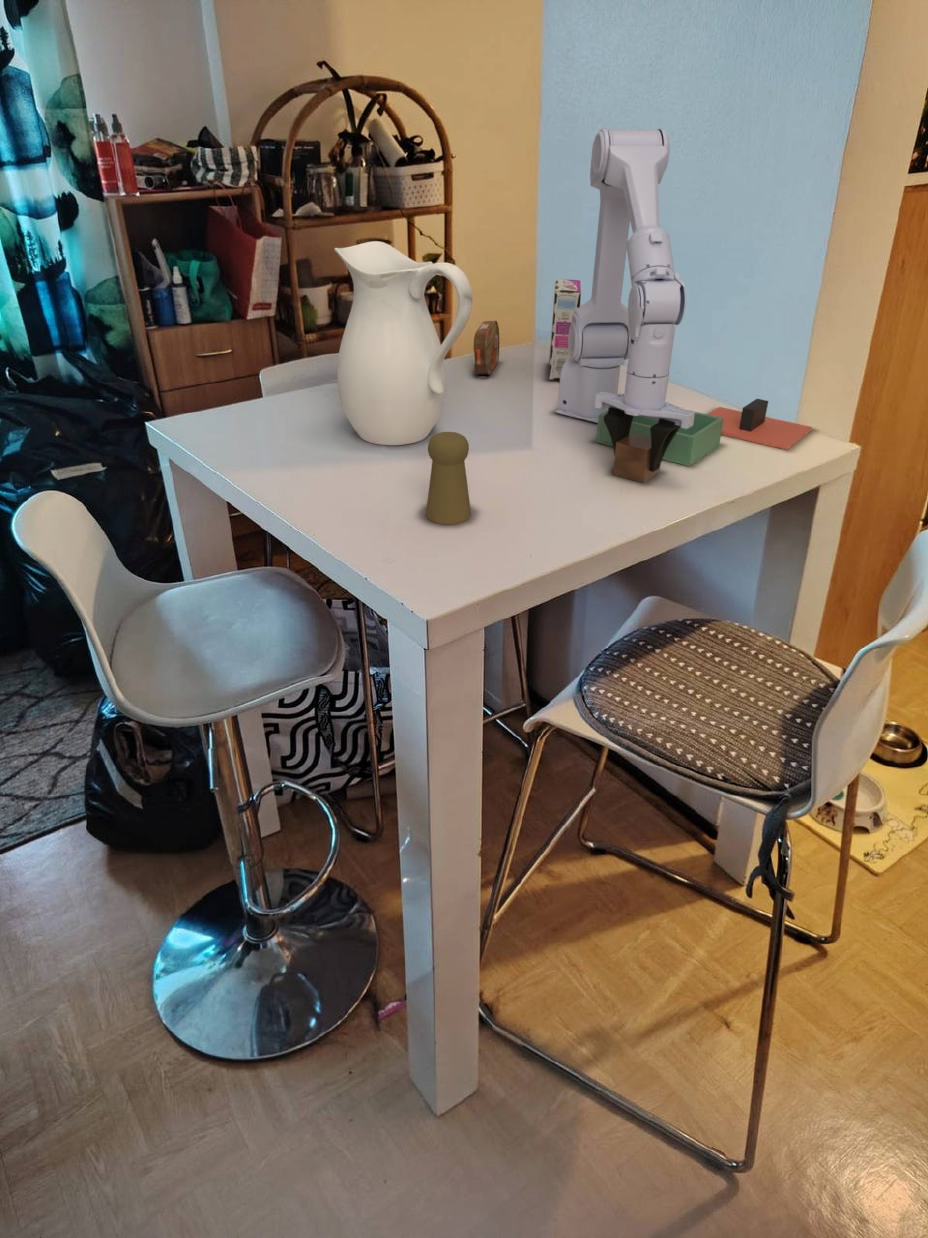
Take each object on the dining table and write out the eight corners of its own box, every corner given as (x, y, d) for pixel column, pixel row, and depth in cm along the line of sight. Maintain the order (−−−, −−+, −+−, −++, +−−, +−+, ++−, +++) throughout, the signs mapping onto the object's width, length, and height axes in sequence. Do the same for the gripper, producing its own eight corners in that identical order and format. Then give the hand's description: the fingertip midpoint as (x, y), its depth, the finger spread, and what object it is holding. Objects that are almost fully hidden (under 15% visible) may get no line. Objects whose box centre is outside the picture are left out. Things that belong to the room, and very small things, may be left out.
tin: (487, 380, 168) (488, 335, 164) (470, 379, 169) (471, 334, 164) (500, 358, 181) (501, 316, 176) (485, 357, 181) (486, 315, 177)
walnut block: (612, 474, 130) (616, 442, 127) (628, 464, 133) (632, 432, 131) (643, 483, 128) (647, 450, 125) (659, 472, 131) (663, 440, 128)
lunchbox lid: (691, 427, 147) (694, 402, 145) (718, 410, 155) (722, 386, 153) (787, 449, 139) (792, 424, 137) (811, 430, 147) (817, 405, 145)
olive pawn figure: (424, 505, 120) (423, 427, 115) (469, 504, 121) (470, 426, 115) (426, 525, 115) (425, 444, 109) (473, 523, 116) (474, 443, 110)
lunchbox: (595, 442, 141) (598, 414, 139) (629, 423, 149) (631, 397, 146) (689, 466, 133) (693, 437, 131) (719, 445, 141) (724, 417, 138)
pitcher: (319, 434, 143) (304, 248, 128) (395, 409, 154) (390, 235, 139) (424, 475, 129) (421, 272, 115) (500, 444, 140) (506, 256, 125)
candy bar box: (574, 382, 168) (581, 291, 159) (548, 381, 168) (553, 290, 160) (574, 365, 177) (581, 278, 169) (549, 364, 178) (554, 277, 169)
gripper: (587, 368, 124) (579, 461, 131) (684, 389, 116) (670, 485, 123) (612, 357, 128) (603, 447, 136) (706, 376, 121) (692, 470, 128)
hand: (636, 464), depth 130 cm, fingers closed on walnut block, 5 cm apart
